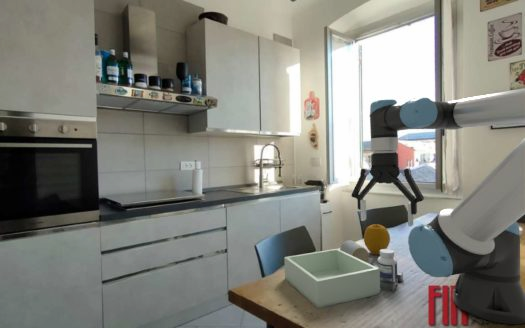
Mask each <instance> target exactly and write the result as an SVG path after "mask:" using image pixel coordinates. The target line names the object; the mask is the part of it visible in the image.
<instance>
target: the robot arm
mask: <svg viewBox="0 0 525 328" xmlns="http://www.w3.org/2000/svg"><path fill="white" fill-rule="evenodd" d="M369 110H370V111H369V123H370V128H369V129H370V152H372V153H371V154H370V158H371V159H370V160H371V161H370V163H371V164H370V165H371V167H370V169H368V168H366V167H364V168H361V170H360V175H359V178H358V180H357V183H356V184H355V186H354V189H353V191H352V192H351V196H350V197H352V198H355V199H356V200H357V210H359V211H360V221H362V222H365V221H366V220H367V199H366V198H365V197H366V195H367V194H368V193H369V192H370V191H372V189H373V188H374V186H375V185H376V184H377V183H378V184H387V185H388V184H389V185H390V184H393V185H394V186H395V187H396V188H397V189H398V190H399V191H400V192H401V193H402V194H403V195H404V196H405V198H406V199H408V201H409V202H407V224H408V225H407V227H412V226H414V215H417V213H418V203H419V202H423V201H424V200H425V197H424V195H423V193H422V192H421V189H420V188H419V187H418V184H417V182H415V179H414V177H413V176H412V169H411V168H410V167H407V168H403V169H402V168H401V169H400V167H399V153H398V152H397V151H398V150H399V137H398V136H399V134H398V133H399V131H405V130H449V131H450V130H451V131H452V130H459V129H463V128H464V129H465V128H475V127H476V128H477V127H478V128H479V127H489V126H492V127H493V126H502V125H503V126H505V125H515V124H516V125H517V124H525V87H524V88H516V89H512V90H506V91H500V92H494V93H489V94H485V95H477V96H472V97H467V98H461V99H455V100H450V101H433V100H431V98H428V97H419V98H412V99H408V100H405V101H403V102H399V103H398V102H397V100H396V99H392V98H386V99H385V98H384V99H383V98H382V99H379V100H375V101H372V102H371V104H370V108H369ZM400 174H401V175H402V176H403V177H404V179H405V180H406V181H407V184H408V185H409V188H410V189H411V191H412V192H411V191H410V190H409V189H408V188H407V187H406V186H405V185H404V184H403V183H402V181H401V179H400V178H398V177H399V176H400ZM369 175H371V176H372V178H371V179H370V181H369V182H368V184H367V185H366V186H364V183H365V181H366V179H367V177H368V176H369ZM363 186H364V188H363ZM362 188H363V189H362ZM361 189H362V191H361ZM413 194H414V195H413ZM524 215H525V137H524V138H523V139H522V140H521V141H520V142H519V143H518V144H517V145H516V146H515V147H514V148H513V149H512V150H511V151H510V152H509V153H508V154H507V155H506V156H505V157H504V158H503V159H502V160H501V162H499V163H498V164H497V165H496V166H495V167H494V168H493V170H491V171H490V172H489V173H488V175H486V176H485V178H484V179H482V180H481V182H479V184H478V185H477V186H476V187H474V188H473V189H472V190H471V192H470V193H469V194H468V195H466V196H465V197H464V198H463V200H462V201H461V202H460V203H459V204H457V206H456V207H455V208H453V207H451V208H450V207H448V208H444V209H442V210H441V211H440V212H438V214H437V215H436V216H435V217H434V218H433V219H432V220H431V221H430V222H428V223H427V224H424V223H423V224H422V223H421V224H419V225H417V226H414V227H413V228H412V229H411V230H410V232H409V234H408V238H407V239H408V240H407V241H408V242H407V244H408V249H409V253H410V256H411V258H412V260H413V261H414V264H416V266H417V267H418V268H419V269H420V270H421V271H422V272H423V273H424V274H427V275H429V276H430V277H433V278H449V277H452V276H455V275H458V277H457V279H456V282H455V285H454V288H453V290H452V300H454V301H453V303H454V302H455V303H454V304H455V306H456V307H458V308H459V309H461V310H462V311H464V312H466V313H467V314H469V315H472V316H474V317H477V318H480V319H483V320H484V321H485V320H486V321H489V322H493V323H500V324H504V325H505V324H507V325H521V324H525V291H524V287H523V285H522V282H521V237H522V236H521V233H520V226H519V225H520V224H519V223H518V222H517V221H518V220H519V219H521V218H522V217H523V216H524Z"/></svg>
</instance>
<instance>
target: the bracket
mask: <svg viewBox="0 0 525 328" xmlns="http://www.w3.org/2000/svg"><path fill="white" fill-rule="evenodd" d="M403 279H404V272H401V271H397V281H398V282H403ZM380 290H383V291H386V292H391V293H394V292H395V291H396V285H395V282H392V281H388V280H386V278H385V277H381V278H380Z"/></svg>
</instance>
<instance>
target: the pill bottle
mask: <svg viewBox="0 0 525 328" xmlns="http://www.w3.org/2000/svg"><path fill="white" fill-rule="evenodd" d="M377 268H379V269H380V278H381V277H385V278H386V280H388V281H392V282H395V286H397V285H398V282H399V281H397V272H398V261H397V259H396V258H395V251H394V250H392V249H389V248H387V249H381V250H380V254H379V256H378V258H377Z"/></svg>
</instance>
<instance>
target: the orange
mask: <svg viewBox="0 0 525 328" xmlns="http://www.w3.org/2000/svg"><path fill="white" fill-rule="evenodd" d="M363 242H364V245H365V247H366V248H367V249H366V250H367V251H368V252H369V253H371V254H372V255H374V256H375V255H376V256H378V255H380V250H381V249H388V247H389V245H390V242H391V236H390V233H389V231H388V230H387V228H386V227H385V226H383V225H381V224H379V223H376V224H375V223H374V224H371V225H369V226H367V227H366V228H365V232H364V234H363Z"/></svg>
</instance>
